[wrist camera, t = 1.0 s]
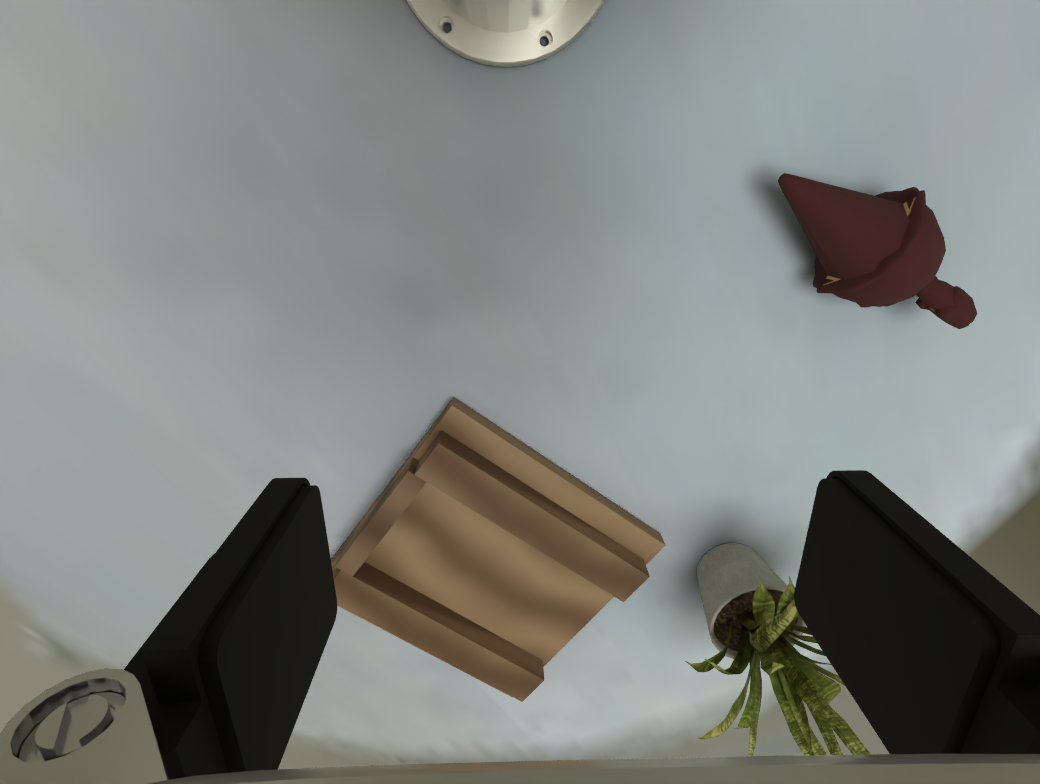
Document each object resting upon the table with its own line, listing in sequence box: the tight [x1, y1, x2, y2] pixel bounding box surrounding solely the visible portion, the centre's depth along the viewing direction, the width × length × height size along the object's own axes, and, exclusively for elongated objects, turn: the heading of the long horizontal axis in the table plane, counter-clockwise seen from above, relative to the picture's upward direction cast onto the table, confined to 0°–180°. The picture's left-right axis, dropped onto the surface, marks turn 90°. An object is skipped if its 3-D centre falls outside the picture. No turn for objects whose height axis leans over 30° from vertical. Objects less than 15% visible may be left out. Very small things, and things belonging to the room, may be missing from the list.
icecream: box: [778, 173, 977, 329], centre depth 34 cm, size 7×7×15 cm
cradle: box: [331, 398, 665, 702], centre depth 44 cm, size 20×20×4 cm
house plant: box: [687, 543, 871, 757], centre depth 39 cm, size 14×14×16 cm
